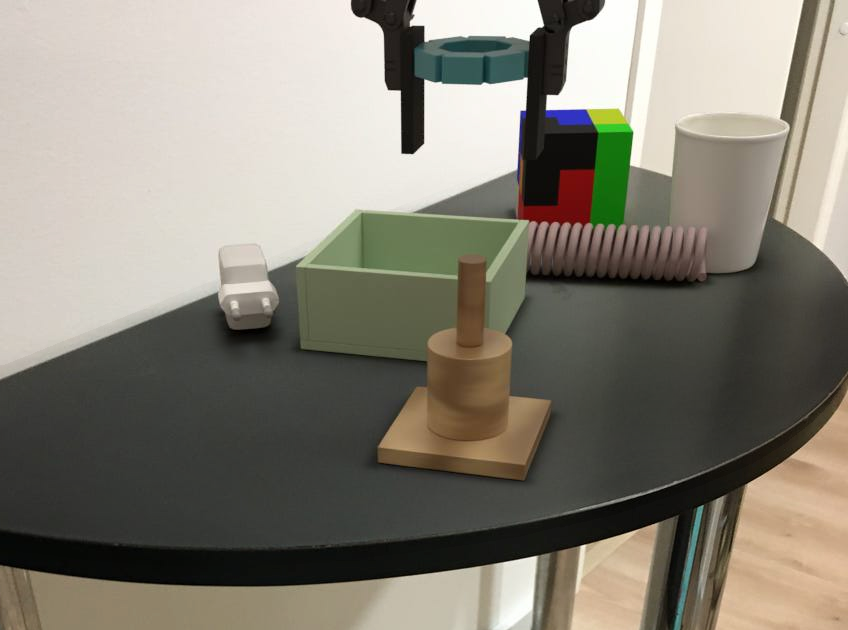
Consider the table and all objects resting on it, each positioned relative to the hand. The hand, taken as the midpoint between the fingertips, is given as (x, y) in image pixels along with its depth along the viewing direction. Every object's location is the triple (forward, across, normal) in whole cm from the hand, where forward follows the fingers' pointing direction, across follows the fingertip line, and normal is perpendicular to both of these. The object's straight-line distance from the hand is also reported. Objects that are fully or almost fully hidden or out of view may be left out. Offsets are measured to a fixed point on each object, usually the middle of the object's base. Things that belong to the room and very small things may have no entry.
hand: (472, 150), depth 67 cm
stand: (+19, 0, -1) cm, 19 cm away
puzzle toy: (+19, 0, +49) cm, 52 cm away
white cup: (+19, +15, +40) cm, 47 cm away
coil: (+19, +6, +34) cm, 39 cm away
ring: (-4, 0, 0) cm, 4 cm away
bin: (+19, -8, +19) cm, 28 cm away
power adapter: (+19, -22, +14) cm, 32 cm away
